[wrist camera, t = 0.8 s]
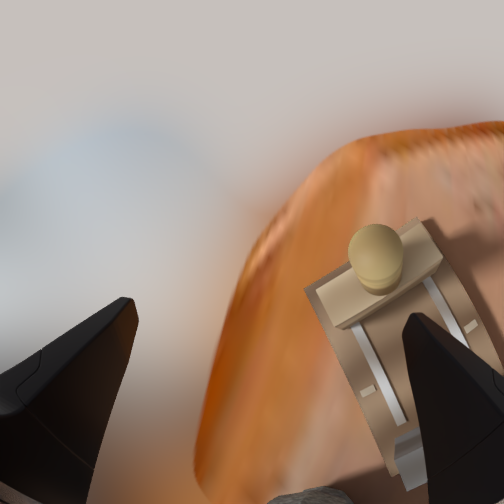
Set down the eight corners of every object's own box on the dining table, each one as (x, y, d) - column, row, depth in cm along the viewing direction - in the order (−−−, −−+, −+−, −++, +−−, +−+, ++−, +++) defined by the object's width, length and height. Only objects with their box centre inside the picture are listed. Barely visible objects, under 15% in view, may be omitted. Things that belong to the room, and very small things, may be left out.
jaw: (435, 271, 20) (456, 228, 12) (343, 330, 22) (315, 319, 14) (416, 242, 21) (424, 186, 14) (327, 299, 23) (291, 272, 16)
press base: (509, 399, 14) (539, 411, 8) (391, 470, 17) (388, 504, 11) (415, 223, 23) (419, 187, 18) (308, 292, 26) (282, 274, 21)
